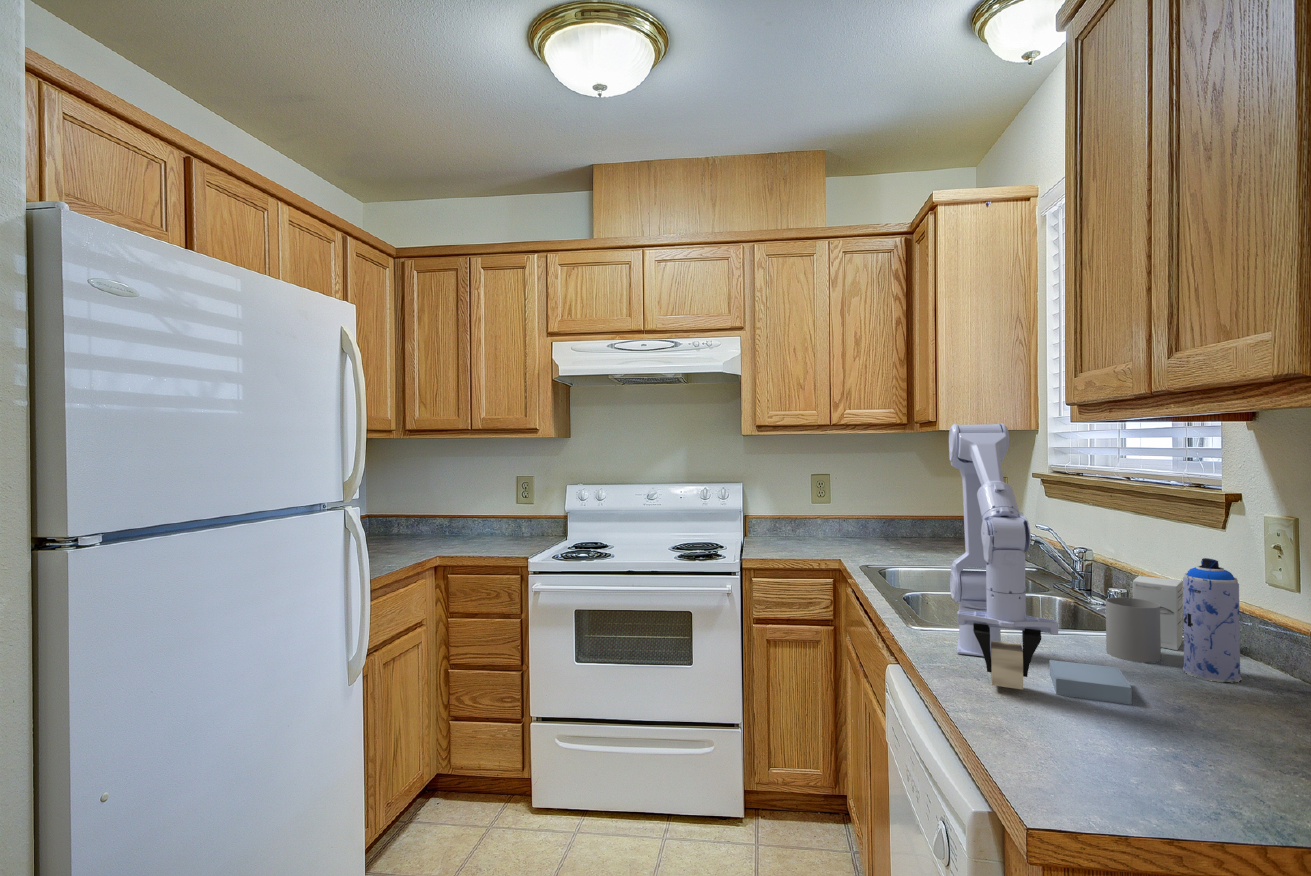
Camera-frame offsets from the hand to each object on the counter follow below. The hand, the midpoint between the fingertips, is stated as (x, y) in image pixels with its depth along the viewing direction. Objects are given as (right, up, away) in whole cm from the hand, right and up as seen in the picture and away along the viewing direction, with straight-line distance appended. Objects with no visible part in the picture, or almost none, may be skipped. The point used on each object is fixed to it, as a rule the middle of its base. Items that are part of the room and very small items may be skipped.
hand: (1006, 672), depth 109 cm
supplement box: (+43, -3, +23) cm, 49 cm away
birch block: (0, -2, 0) cm, 2 cm away
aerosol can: (+38, -3, +6) cm, 39 cm away
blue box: (+13, -3, 0) cm, 14 cm away
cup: (+32, -3, +16) cm, 36 cm away
